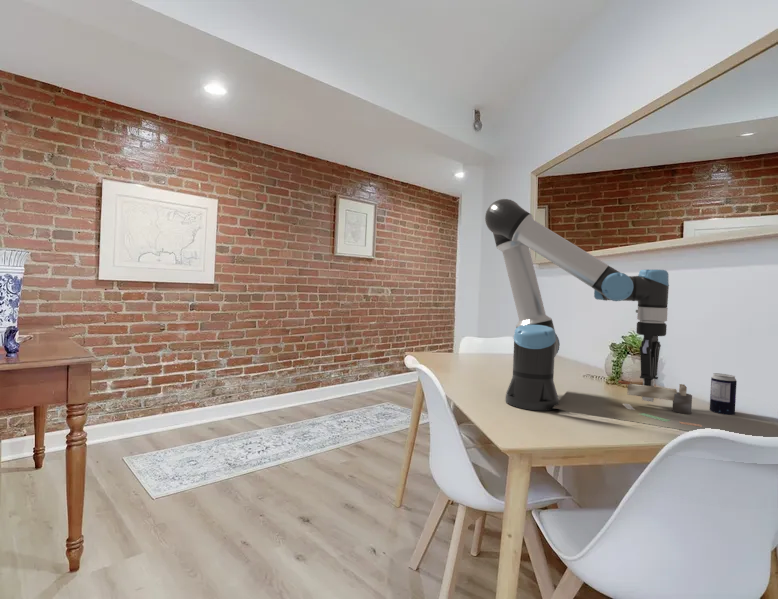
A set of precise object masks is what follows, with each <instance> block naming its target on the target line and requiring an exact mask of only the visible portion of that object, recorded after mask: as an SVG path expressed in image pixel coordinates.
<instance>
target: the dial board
mask: <svg viewBox="0 0 778 599" xmlns="http://www.w3.org/2000/svg"><path fill="white" fill-rule="evenodd" d="M621 404H622V405H623V406H624V408H626V409H627V410H631V411H635V410H636V409H635V408H634V407H633V406H632V405H631V404H629V403H621ZM639 415H641V416H644V417H647V418H649V419H654V420H659V421H662V422H665V423H666V422H671V420H670V419H667V418H664V417H660V416H656V415H652V414H650V413H646V412H644V413H643V412H642V413H639ZM613 419H614V420H616V418H614V417H613ZM618 420H620V421H622V419H619V418H618ZM625 421H626V422H628V420H627V419H624V422H625ZM630 422H633V423H634V421H632V420H630ZM636 423H637V424H640V422H637V421H636ZM642 424H643V425H646V423H645V422H643V423H642ZM679 424H680V425H686V426H687V425H688V426H694V427H700V428H703V425H702V424H699V423H693V422H685V421H679ZM647 425H650V426H652V424H650V423H647ZM653 426H655V427H658V425H655V424H653ZM659 427H660V428H661V427H663V428H664V425H663V426H662V425H659ZM665 428H666V429H670V427H668V426H665ZM671 429H675V430H676V428H674V427H671ZM677 430H679V431H682V429H680V428H677ZM683 431H686V432H688V430H684V429H683Z"/></svg>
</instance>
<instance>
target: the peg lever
mask: <svg viewBox="0 0 778 599" xmlns="http://www.w3.org/2000/svg"><path fill="white" fill-rule="evenodd" d="M617 384H622V385H627V391H626V392H627V394H626V395H628V396H636V397H641V398H642V397H649V398H654V399H659V400H665V401H671V402H672V409H671V410H672V412H675V413H677V414H682V415H683V414H684V415H691V414H692V408H693V406H692V405H693V403H692V402H693V395H692V394H690V393H687V389H688V388H687V386H686V385H685V384H682V383H681V384H680V383H679V388H678V391H677V389H676V388H668V387H661V386H660V387H659V386H654V387H653V386H645V385H643V384H636V383H635V384H633V383H631V382H630V381H626V380H618V383H617Z"/></svg>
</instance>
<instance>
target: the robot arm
mask: <svg viewBox="0 0 778 599" xmlns="http://www.w3.org/2000/svg"><path fill="white" fill-rule="evenodd" d="M484 219H485V220H484V221H485V225H486V227H487V229H488V230H489V231H490V232H491V233H492V234H493V238H494V242H495V247H496V249H498V250H499V251H500V252H502V256H503V260H504V264H505V268H506V272H507V276H508V280H509V285H510V288H511V292H512V296H513V301H514V305H515V309H516V312H517V316H518V322H517V324H516V325H515V330H514V335H513V360H512V376H511V379H510V382H509V385H508V387H507V389H506V394H505V403H507V404H508V403H509V404H508V405H510V406H512V405H513V406H512V407H515V406H516V407H515V408H519V409H523V410H531V411H541V412H542V411H543V412H546V411H555V410H556V408H555V406H558V405H559V403H560V399H559V396H558V392H557V389H556V386H555V382H554V374H555V358H556V356H557V355H558V353H559V350H560V339H559V336H558V334H557V333H556V329H555V326H554V322H553V319H552V318H551V317H550V316H548V315H547V314H546V311H545V310H546V309H545V307H544V302H543V298H542V294H541V290H540V286H539V283H538V279H537V275H536V270H535V267H534V263H533V259H532V254H531V252H530V250H531V251H533V252H535V253H537V254H538V255H540V256H541V257H543V258H545V259H546V260H548V261H549V262H551V263H552V264H554V265H556V266H558V267H559V268H561V269H562V270H563V271H565V272H567V273H568V274H570V275H571V276H573V277H574V278H576V279H578V280H579V281H581V282H583V283H584V284H585V285H587V286H589V287H590V288H592V289H593V290H594V292H593V297H594V299H595V300H598V301H599V300H600V301H606V302H607V301H612V302H621V301H626V302H627V301H629V302H630V301H631V302H637V309H635V314H637V315H636V318H637V319H636V320H638V321H637V322H636V334H637V335H640V336H643V339H642V340H641V343H640V346H639V353H640V355H639V356H640V376H639V378H640V379H642V385H645V386H653V387H655V380H658V379H659V376H658V366H659V358H660V352H661V351H660V350H661V347H662V345H661V341H659V337H666V335H667V323H665V322H667V321H668V303H669V302H668V301H669V300H668V299H669V286H670V285H669V283H670V282H669V272H668V271H667V270H666V269H641V270H639V271H638V275H631V276H629V275H628V274H625V273H624V272H620V271H618V270H617V269H616V268H614V267H612V266H610V265H609V264H608V263H605V262H604V261H603V260H601V259H599V258H598V257H596V256H594V255H592V254H590V253H589V252H588V251H586V250H584V249H582V248H581V247H579V246H577V245H576V244H575V243H573V242H571V241H569V240H567V239H566V238H564V237H562V236H561V235H559V233H558V234H557V233H556V232H554V231H553V230H551V229H550V228H548V227H546V226H544V225H543V224H541V223H540V222H538V221H536V220H534V217H533V214H531V213H530V212H529V211H527V210H525V209H524V208H523V207H522V206H520V205H519V204H518V203H517V202H516V201H514V200H512V199H508V198H502V199H501V198H500V199H497V200H496V201H494V202H492V203H491V204H490V205H489V207H488V208H487V210H486V212H485V216H484ZM641 401H646V402H650V403H653V402H654V401H655V398H649V397H642V396H641Z"/></svg>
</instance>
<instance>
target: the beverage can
mask: <svg viewBox="0 0 778 599" xmlns="http://www.w3.org/2000/svg"><path fill="white" fill-rule="evenodd" d="M737 382H738V381H737V379H736V375H732V374H728V373H713V375H712V376H711V379H710V395H709V396H710V397H709V411H710V412H712V413H716V414H719V415H726V416H727V415H728V416H730V415H731V416H734V415H735V414H736V403H737V402H736V400H737V399H736V398H737Z"/></svg>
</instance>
